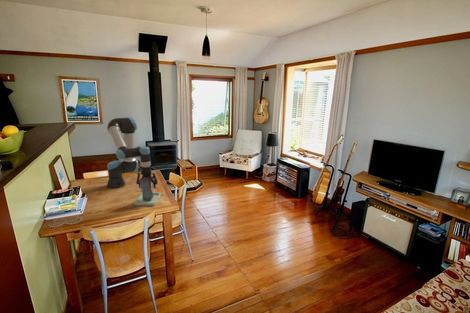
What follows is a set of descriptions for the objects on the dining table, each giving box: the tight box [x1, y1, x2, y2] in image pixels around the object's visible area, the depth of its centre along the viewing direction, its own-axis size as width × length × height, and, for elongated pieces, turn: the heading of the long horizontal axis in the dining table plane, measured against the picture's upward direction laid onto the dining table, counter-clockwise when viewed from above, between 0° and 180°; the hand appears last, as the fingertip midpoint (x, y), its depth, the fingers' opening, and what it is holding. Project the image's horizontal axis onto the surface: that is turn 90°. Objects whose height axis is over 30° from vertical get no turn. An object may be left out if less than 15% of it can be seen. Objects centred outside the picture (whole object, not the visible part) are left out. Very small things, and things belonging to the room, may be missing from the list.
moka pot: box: [138, 176, 154, 200], centre depth 198 cm, size 10×15×20 cm, turn 135°
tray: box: [133, 191, 162, 207], centre depth 201 cm, size 21×16×2 cm
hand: (147, 191), depth 199 cm, fingers closed on moka pot, 9 cm apart
